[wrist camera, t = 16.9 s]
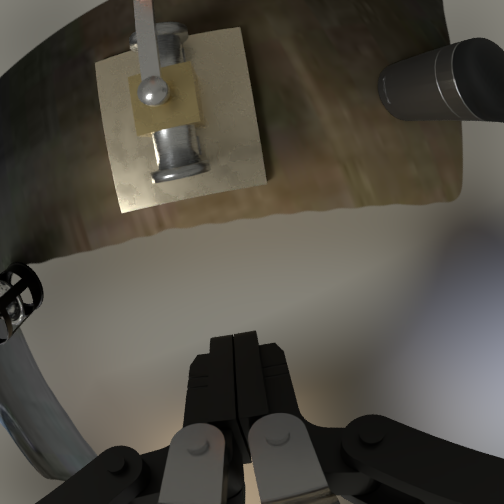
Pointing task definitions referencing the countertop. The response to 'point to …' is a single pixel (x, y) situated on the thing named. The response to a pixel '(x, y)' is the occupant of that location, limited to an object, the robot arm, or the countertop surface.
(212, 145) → the valve
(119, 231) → the countertop surface
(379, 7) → the countertop surface
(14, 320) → the french press
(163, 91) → the valve lever
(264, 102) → the countertop surface
